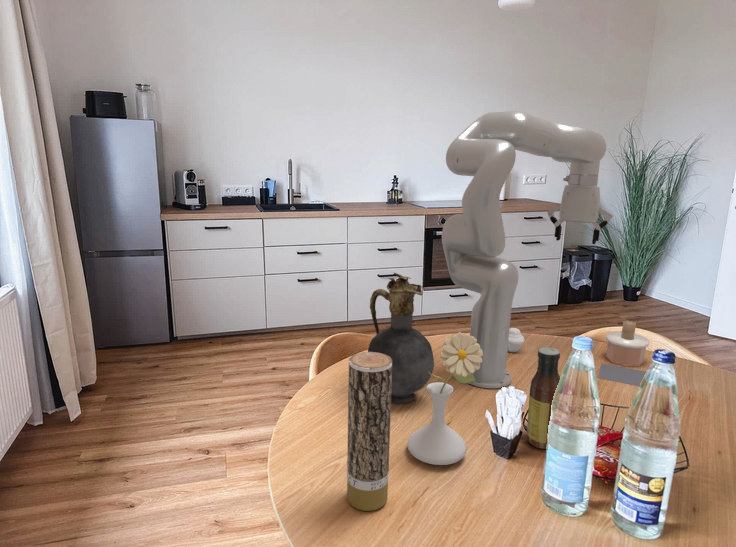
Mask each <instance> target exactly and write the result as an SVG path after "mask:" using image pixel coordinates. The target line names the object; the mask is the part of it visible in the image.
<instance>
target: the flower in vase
mask: <svg viewBox="0 0 736 547" xmlns="http://www.w3.org/2000/svg"><path fill="white" fill-rule="evenodd" d="M476 342H477V339H475V338H474V337H473V336H471V337H470V334H468V333H465V334H464V333H462V332H460V331H459V332H457V334H456V333H454V334H453V335H452V336H451V337H448V338H446V339H445V340H444V341H443V343H442V346H443V347H442V348H441V351H440V357H439V359H440V361H441V362H442V365H443V366H444V367H445V371H446V372H447V373H450V374H449V377H448V378H447V379H444V378H442V377H441V376H438V375H435V374H433V373H432V374H431V373H430V372H429V371H428V372H429V374H430V375H432V376H431V377H435V378H437V379H440V380H442V381H444V382H439V381H438V382H437V381H436V382H431V383H427V384H426V391H428V393H429V395H430V397H431V401H432V417H431V420H430V422H429V423H428V424H425V425H424V426H421V427H420V428H418V429H416V430H415V431H414V432H413V433H411V434H410V435H409V437H408V439H407V442H406V446H407V449H408V451H409V453H410V454H411V455H412V456H413V457H414V458H416V459H417V460H419V461H420V462H423V463H426V464H430V465H434V466H448V465H452V464H455V463H458V462H459V461H461V460H462V459H463V458H464V457H465V455H466V454H467V451H468V450H467V449H468V448H467V445H466V442H465V440H464V439H463V437H462V436H460V434H459V433H458V432H456V431H455V430H454V429H452V428H451V427H450V426H448V425H447V423H446V420H445V413H446V412H445V411H446V407H447V406H446V405H447V401H448V398H449V396H450V395H451V394H452V393H453V392H454V387H453V386H452V385H450V384H448V382H449V381H450V379H451V378H452V377H454V379H455V380H456V381H457V382H458V383H459V384H463V385H464V384H469V382H472V381H474V380H475V378H474V376H473V375H472V374H471V373H474V372H475V371H476V370H479V369H480V363H482V358H481V357H482V356H483V353H482V352H483V351H482V349H480V345H479V344H478V343H476Z"/></svg>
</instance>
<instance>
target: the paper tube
mask: <svg viewBox="0 0 736 547" xmlns="http://www.w3.org/2000/svg"><path fill="white" fill-rule="evenodd" d="M347 387H348V389H347V390H348V391H347V392H348V396H347V398H348V399H347V400H348V402H347V403H348V404H347V460H346V461H347V464H346V465H347V466H346V468H347V469H346V473H347V474H346V475H347V476H346V480H347V481H346V482H347V484H346V485H347V486H346V496H347V497H346V498H347V501H348V503H349V504H350V505H351V506H352V507H353V508H355V510H359V511H363V512H365V511H366V512H373V511H376V510H379V509H381V508H382V507H383V506H384V505H385V504H386V503H387V500H388V495H389V494H388V493H389V473H390V472H389V471H390V470H389V469H390V468H389V466H390V444H391V443H390V440H391V439H390V438H391V416H392V414H391V412H392V411H391V410H392V408H391V407H392V402H391V387H392V359H391V358H390V357H389V356H387V355H385V354H382V353H377V352H368V351H365V352H364V351H362V352H357V353H355V354H353V355H351V356H350V357H349V359H348V386H347Z"/></svg>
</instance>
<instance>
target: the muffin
mask: <svg viewBox="0 0 736 547" xmlns="http://www.w3.org/2000/svg"><path fill="white" fill-rule="evenodd" d="M524 343H525V337H524V336H523V335H522V333H521V330H520V329H519V328H516V327H510V329H509V340H508V351H507V352H510V353H518V352H519V351H520V349H521V348H522V347H523V344H524Z"/></svg>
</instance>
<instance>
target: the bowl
mask: <svg viewBox="0 0 736 547" xmlns="http://www.w3.org/2000/svg"><path fill="white" fill-rule="evenodd" d="M646 349H647V347H646V348H639V349H636V348H626V347H621V346H618V345H615V344H612V343H610V342H608V341H607V346H606V353H605V354H606V355H605V358H606V359H608V360H609V361H610V363H614V364H617V365H619V366H622V367H640V366H641V365H643V364H644V360H645V355H646V354H645V353H646Z"/></svg>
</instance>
